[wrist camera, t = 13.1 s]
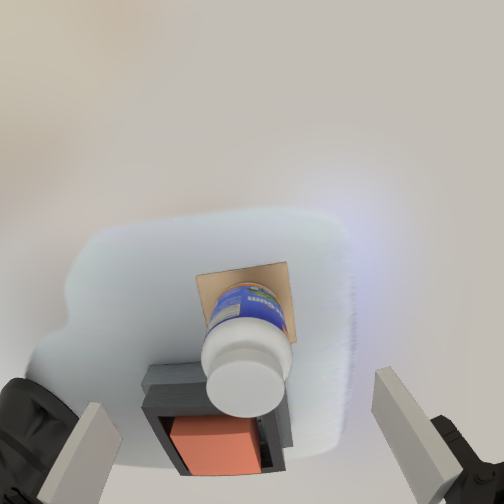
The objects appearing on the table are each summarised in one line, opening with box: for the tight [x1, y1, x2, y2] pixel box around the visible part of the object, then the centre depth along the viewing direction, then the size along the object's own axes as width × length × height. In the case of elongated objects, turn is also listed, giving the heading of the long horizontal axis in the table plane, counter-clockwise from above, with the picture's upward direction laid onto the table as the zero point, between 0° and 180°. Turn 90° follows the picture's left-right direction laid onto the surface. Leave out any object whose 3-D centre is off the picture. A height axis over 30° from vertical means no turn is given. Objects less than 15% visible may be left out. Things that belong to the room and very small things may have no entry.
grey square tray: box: [141, 362, 293, 476], centre depth 23 cm, size 12×10×6 cm
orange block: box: [170, 414, 261, 476], centre depth 21 cm, size 6×6×5 cm
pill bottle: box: [201, 283, 293, 418], centre depth 18 cm, size 5×5×10 cm
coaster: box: [196, 262, 296, 343], centre depth 23 cm, size 7×7×1 cm
